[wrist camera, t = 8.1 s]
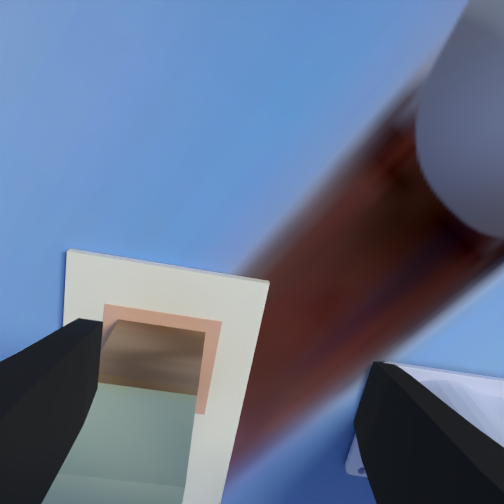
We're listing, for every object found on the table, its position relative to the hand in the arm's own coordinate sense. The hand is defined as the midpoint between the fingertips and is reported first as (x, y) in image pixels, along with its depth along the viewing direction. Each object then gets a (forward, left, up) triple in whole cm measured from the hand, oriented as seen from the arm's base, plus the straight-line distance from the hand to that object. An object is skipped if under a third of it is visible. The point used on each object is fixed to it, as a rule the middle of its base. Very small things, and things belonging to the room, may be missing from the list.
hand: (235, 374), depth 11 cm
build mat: (+3, +10, -10) cm, 15 cm away
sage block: (+3, +7, -6) cm, 10 cm away
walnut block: (+3, +7, -10) cm, 13 cm away
